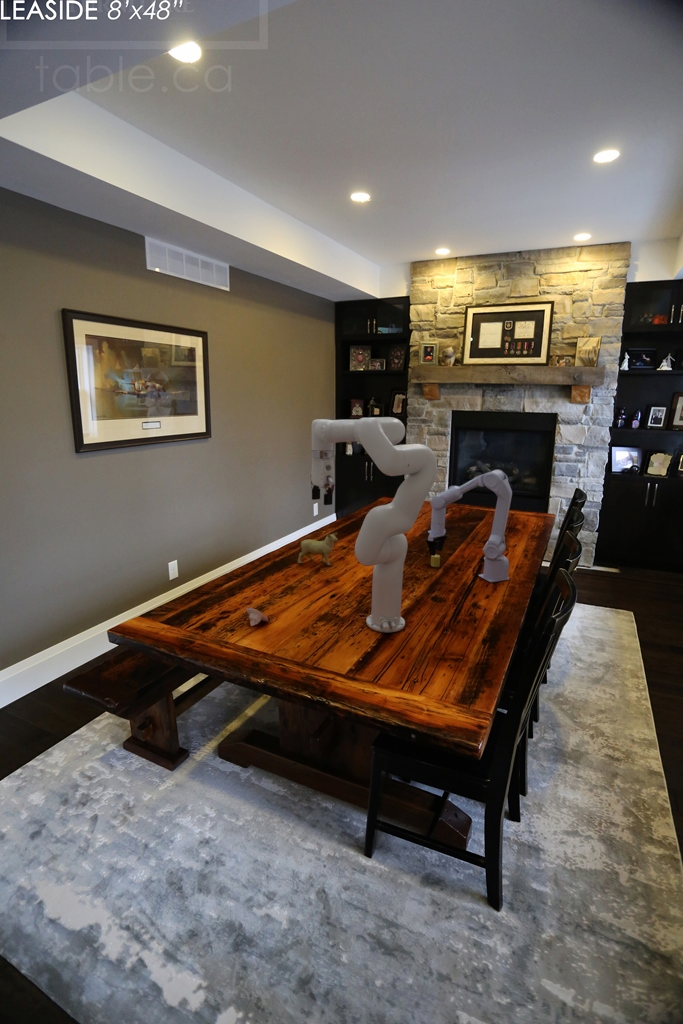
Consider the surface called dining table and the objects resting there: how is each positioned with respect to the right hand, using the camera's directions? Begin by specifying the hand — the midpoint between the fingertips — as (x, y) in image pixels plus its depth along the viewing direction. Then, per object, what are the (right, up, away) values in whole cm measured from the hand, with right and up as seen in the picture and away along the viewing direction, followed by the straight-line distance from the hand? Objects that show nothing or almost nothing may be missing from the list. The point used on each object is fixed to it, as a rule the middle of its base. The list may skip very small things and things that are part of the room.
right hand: (435, 552), depth 216 cm
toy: (-51, -5, +1) cm, 51 cm away
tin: (0, -6, +2) cm, 6 cm away
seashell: (-68, -18, -54) cm, 89 cm away
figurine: (+26, -4, +9) cm, 28 cm away
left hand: (-48, +21, -35) cm, 63 cm away
